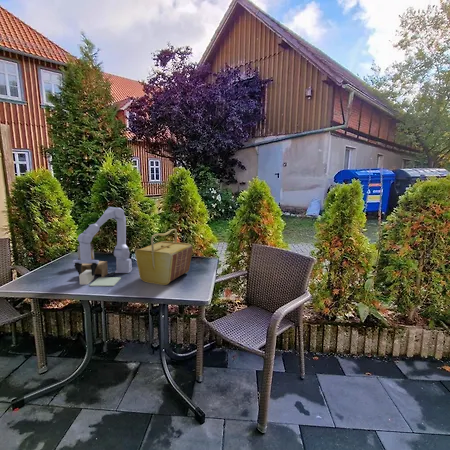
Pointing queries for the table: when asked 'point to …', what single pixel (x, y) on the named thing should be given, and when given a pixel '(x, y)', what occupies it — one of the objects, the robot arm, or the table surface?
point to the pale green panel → (105, 281)
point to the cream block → (86, 277)
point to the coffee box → (91, 252)
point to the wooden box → (97, 268)
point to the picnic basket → (163, 260)
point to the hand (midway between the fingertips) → (86, 275)
